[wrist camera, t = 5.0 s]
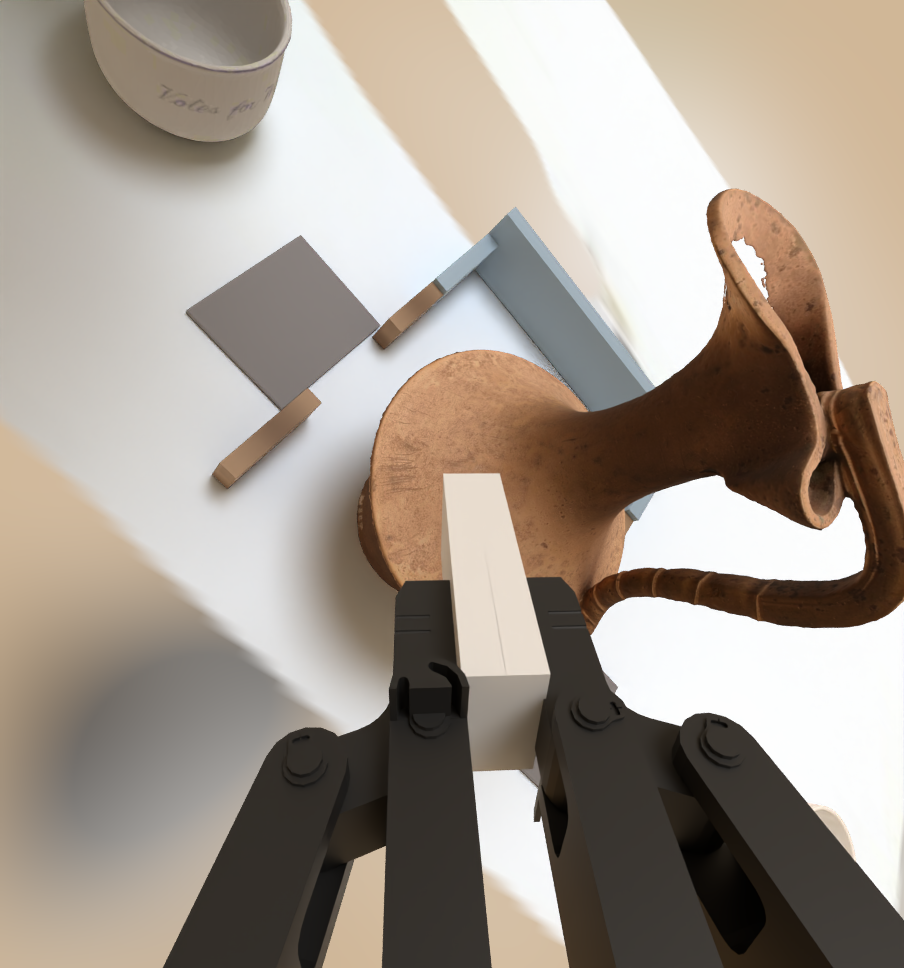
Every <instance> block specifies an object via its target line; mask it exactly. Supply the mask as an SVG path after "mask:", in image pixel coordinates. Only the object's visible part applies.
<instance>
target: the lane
mask: <svg viewBox="0 0 904 968" xmlns="http://www.w3.org/2000/svg"><path fill="white" fill-rule="evenodd" d="M442 296H443V294H442V293H441V292H440V290H439V289H438V288H437V287H436V286H435V284H434V283H433V282H431V283H430V284H429V285H428V286H427V287H425V288H424V289H423V290H422V291H421V292H420V293H418V294H417V295H416V296H415V297H414V298H412V299H411V300H410V301H409V302H408V303H407V304H405V305H404V306H403V307H402V308H401V309H400V310H398V311H397V312H396V313H395V314H394V315H393V316H391V317H390V318H389V319H388V320H387V321H386V322H385V324H384V325H383V326H382V327H381V328H380V329H379V330H378V331H377V332H376V333H375V335H374V336H373V338H374V339H375V340H376V341H377V343H378V344H379V345H380V346H381V347H382V348H383V349H385V348H386V347H387V346H389V345H390V344H391V343H392V342H393V341H394V340H395V339H396V338H398V337H399V336H400V335H401V334H402V333H403V332H404V331H405V330H407V329H408V328H409V327H410V326H411V325H412V324H413V323H414V322H416V321H417V320H418V319H419V318H420V317H421V316H422V315H423V314H425V313H426V312H427V311H428V310H429V309H430V308H431V307H432V306H433V305H434V304H435V303H436V302H437V301H438V300H439V299H440V298H441V297H442ZM320 404H321V402H320V400H319V399H318V398H317V397H316V396H315V395H314V394H313V393H312V392H311V391H310V390H309V389H308V388H307V389H306V390H305V391H303V392H302V393H301V394H300V395H299V396H298V397H296V398H295V399H294V400H293V401H292V402H291V403H289V404H288V405H287V406H286V407H285V408H284V409H282V410H281V411H280V412H279V413H278V414H277V415H275V416H274V417H273V418H272V419H271V420H269V421H268V422H267V423H266V424H265V425H264V426H262V427H261V428H260V429H259V430H258V431H257V432H255V433H254V434H253V435H252V436H251V437H250V438H248V439H247V440H246V441H245V442H244V443H243V444H241V445H240V446H239V447H238V448H237V449H236V450H234V451H233V452H232V453H231V454H230V455H228V456H227V457H226V458H225V459H224V460H223V461H221V462H220V463H219V465H218V466H217V468H216V469H215V471H214V472H213V474H212V475H213V476H214V477H215V478H216V479H217V480H218V481H219V482H220V483H222V484H223V485H224V486H225V487H226V488H227V489H228V488H229V487H230V486H231V485H232V484H233V483H235V482H236V481H237V480H238V479H239V478H240V477H241V476H242V475H244V474H245V473H246V472H247V471H248V470H249V469H250V468H251V467H253V466H254V465H255V464H256V463H257V462H258V461H259V460H260V459H262V458H263V457H264V456H265V455H266V454H267V453H268V452H269V451H271V450H272V449H273V448H274V447H275V446H276V445H277V444H278V443H280V442H281V441H282V440H283V439H284V438H285V437H286V436H287V435H289V434H290V433H291V432H292V431H293V430H294V429H295V428H296V427H298V426H299V425H300V424H301V423H302V422H303V421H304V420H305V419H307V418H308V417H309V416H310V415H311V413H312V412H313V411H314V410H315V409H316V408H317V407H318V406H319V405H320ZM632 523H633V520H632V519H631V518H630V516H629V515H628V514H627V513H626V512H625V535H626V533H627V531H628V530H629V528H630V526H631V524H632Z"/></svg>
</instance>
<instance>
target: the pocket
mask: <svg viewBox="0 0 904 968" xmlns="http://www.w3.org/2000/svg"><path fill="white" fill-rule="evenodd" d="M474 269H475V270H476V271H477V273H478V274H479V275H480V276H481V278H482V279H483V280H484V281H485V282H486V284H487V285H488V286H489V287H490V289H491V290H492V291H493V292H494V294H495V295H496V296H497V297H498V298H499V300H500V301H501V302H502V303H503V305H504V306H505V307H506V308H507V309H508V311H509V312H510V313H511V314H512V316H513V317H514V318H515V319H516V321H517V322H518V323H519V324H520V325H521V327H522V328H523V329H524V330H525V332H526V333H527V334H528V335H529V336H530V338H531V339H532V340H533V341H534V343H535V344H536V345H537V346H538V348H539V349H540V350H541V351H542V352H543V354H544V355H545V356H546V357H547V359H548V360H549V361H550V362H551V363H552V365H553V366H554V367H555V368H556V370H557V371H558V372H559V373H560V374H561V376H562V377H563V378H564V379H565V381H566V382H567V383H568V384H569V386H570V387H571V388H572V389H573V390H574V392H575V393H576V394H577V395H578V397H579V398H580V399H581V400H582V401H583V403H584V404H585V405H586V406H587V408H588V409H589V410H590V411H591V412H594V411H599V410H604V409H607V408H611V407H614V406H616V405H619V404H621V403H624V402H627V401H630V400H632V399H635V398H637V397H640V396H642V395H643V394H645V393H647V392H649V391H651V390H653V389H654V388H655V387H654V385H653V384H652V383H651V381H650V380H649V379H648V378H647V376H646V375H645V374H644V372H643V371H642V370H641V368H640V367H639V366H638V365H637V363H636V362H635V361H634V359H633V358H632V357H631V356H630V354H629V353H628V352H627V350H626V349H625V348H624V346H623V345H622V344H621V343H620V341H619V340H618V339H617V337H616V336H615V335H614V334H613V332H612V331H611V330H610V328H609V327H608V326H607V324H606V323H605V322H604V321H603V319H602V318H601V317H600V315H599V314H598V313H597V312H596V310H595V309H594V308H593V306H592V305H591V304H590V302H589V301H588V300H587V299H586V297H585V296H584V295H583V293H582V292H581V291H580V290H579V288H578V287H577V286H576V284H575V283H574V282H573V280H572V279H571V278H570V277H569V275H568V274H567V273H566V271H565V270H564V269H563V268H562V266H561V265H560V264H559V262H558V261H557V260H556V258H555V257H554V256H553V255H552V253H551V252H550V251H549V250H548V248H547V247H546V245H545V244H544V243H543V242H542V241H541V239H540V238H539V236H538V235H537V234H536V233H535V231H534V230H533V229H532V227H531V226H530V225H529V224H528V222H527V221H526V220H525V218H524V217H523V216H522V215H521V213H520V212H519V211H518V209H517V208H516V207H515V208H514V209H513V210H511V211H510V212H509V213H508V214H507V215H506V216H505V217H504V218H503V219H502V220H501V221H500V222H499V223H498V224H497V225H496V226H495V227H494V228H493V229H492V230H491V231H490V232H489V233H488V234H487V235H486V236H485V237H484V238H483V239H482V240H480V241H479V242H478V243H477V244H476V245H474V246H473V247H472V248H471V249H470V250H468V251H467V252H466V253H465V254H464V255H463V256H461V257H460V258H459V259H458V260H457V261H456V262H454V263H453V264H452V265H451V266H450V267H449V268H447V269H446V270H445V271H444V272H443V273H442V274H440V275H439V276H438V277H437V278H436V279H435V280H434V281H433V283H434V284H435V286H436V287H437V288H438V289H439V290H440V292H441V293H442V294H443V296H442V297H441V298H440V299H439V300H438V301H437V302H439V301H440V300H441V299H442V298H443V297H444V296H445V295H446V294H447V293H449V292H450V291H451V290H452V289H453V288H454V287H455V286H456V285H458V284H459V283H460V282H461V281H462V280H463V279H464V278H465V277H467V276H468V275H469V274H470V273H471V272H472V271H473V270H474ZM437 302H436V303H437ZM436 303H435V304H436ZM435 304H434V305H435ZM434 305H433V306H434ZM433 306H432V307H433ZM432 307H431V308H432ZM431 308H430V309H431ZM430 309H429V310H430ZM654 493H655V492H654ZM654 493H652V494H650V495H647V496H645V497H643V498H641V499H639V500H637V501H635V502H633V503H631V504H630V505H628V506H627V507H626V508H624V509H625V512H626V513H627V514H628V515H629V516H630V518H631V519H632V520H633V521H637V520H639V519H640V517H641V515H642V513H643V512H644V510H645V508H646V507H647V505H648V503H649V501H650V500H651V498H652V496H653V494H654Z"/></svg>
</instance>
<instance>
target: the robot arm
mask: <svg viewBox="0 0 904 968" xmlns="http://www.w3.org/2000/svg"><path fill="white" fill-rule="evenodd" d="M441 563H442V577H443V580H419V581H405V583H404V584H403V586H402V587H401V589H400V591H399V592H398V594H397V596H396V604H395V635H394V664H393V676H392V680H391V683H390V687H389V704H388V706H387V709H386V710H385V711H384V712H383V713H382V715H381V716H380V717H379V718H378V719H376V720H375V721H374V722H372V723H371V724H369V725H367V726H365V727H363V728H361V729H359V730H356V731H353V732H350V733H347V734H344V735H341V736H339V737H338V736H337V735H336V734H335V733H333V732H331V731H328V730H326V729H323V728H303V729H300V730H297V731H294V732H291V733H289V734H288V735H287V736H285V737H284V738H282V739H281V740H279V741H278V742H277V743H276V744H275V745H274V747H273V748H272V749H271V751H270V752H269V753H268V755H267V756H266V758H265V760H264V762H263V764H262V766H261V768H260V771H259V773H258V775H257V777H256V779H255V781H254V783H253V785H252V787H251V789H250V791H249V793H248V795H247V797H246V799H245V801H244V803H243V805H242V807H241V809H240V811H239V813H238V815H237V818H236V820H235V822H234V824H233V826H232V828H231V830H230V832H229V834H228V836H227V838H226V840H225V842H224V844H223V846H222V848H221V850H220V852H219V854H218V856H217V858H216V860H215V863H214V864H213V866H212V869H211V871H210V873H209V875H208V877H207V879H206V881H205V883H204V885H203V887H202V889H201V891H200V893H199V895H198V897H197V899H196V901H195V903H194V905H193V907H192V909H191V911H190V914H189V916H188V918H187V920H186V922H185V924H184V926H183V928H182V930H181V932H180V934H179V936H178V938H177V940H176V942H175V944H174V946H173V948H172V950H171V952H170V954H169V956H168V959H167V960H166V963H165V965H164V967H163V968H322V966H323V962H324V959H325V956H326V952H327V949H328V945H329V942H330V939H331V936H332V932H333V929H334V926H335V922H336V919H337V915H338V912H339V909H340V905H341V902H342V899H343V896H344V892H345V889H346V885H347V882H348V879H349V876H350V872H351V869H352V866H353V862H354V859H356V858H358V857H361V856H363V855H365V854H368V853H370V852H372V851H375V850H377V849H379V848H382V847H384V846H386V863H385V864H386V865H385V893H384V925H383V954H382V968H492V967H491V956H490V946H489V937H488V926H487V915H486V906H485V895H484V884H483V874H482V864H481V854H480V843H479V833H478V823H477V813H476V802H475V792H474V782H473V772H472V771H495V770H521V769H533V767H534V761H535V756H536V757H537V762H538V767H539V772H540V782H539V787H538V792H537V797H536V802H535V807H534V822H540V818H541V817H542V822H543V827H544V833H545V838H546V844H547V849H548V854H549V860H550V865H551V870H552V876H553V881H554V887H555V892H556V897H557V903H558V908H559V914H560V919H561V924H562V930H563V935H564V941H565V946H566V951H567V957H568V962H569V968H904V920H903V919H902V917H901V916H900V915H899V914H898V912H897V911H896V910H895V909H894V908H893V906H892V905H891V904H890V903H889V902H888V900H887V899H886V898H885V897H884V895H883V894H882V893H881V892H880V891H879V889H878V888H877V887H876V886H875V885H874V883H873V882H872V881H871V880H870V878H869V877H868V876H867V875H866V874H865V872H864V871H863V870H862V869H861V868H860V866H859V865H858V864H857V863H856V861H855V860H854V859H853V858H852V857H851V855H850V854H849V853H848V852H847V851H846V849H845V848H844V847H843V846H842V844H841V843H840V842H839V841H838V840H837V838H836V837H835V836H834V835H833V834H832V832H831V831H830V830H829V829H828V827H827V826H826V825H825V824H824V823H823V821H822V820H821V819H820V818H819V817H818V815H817V814H816V813H815V812H814V810H813V809H812V808H811V807H810V806H809V804H808V803H807V802H806V801H805V800H804V798H803V797H802V796H801V795H800V793H799V792H798V791H797V790H796V789H795V787H794V786H793V785H792V784H791V783H790V781H789V780H788V779H787V778H786V776H785V775H784V774H783V773H782V772H781V770H780V769H779V768H778V767H777V766H776V764H775V763H774V762H773V761H772V759H771V758H770V757H769V756H768V755H767V753H766V752H765V751H764V750H763V749H762V747H761V746H760V745H759V744H758V742H757V741H756V740H755V739H754V738H753V737H752V736H751V735H750V734H749V733H748V732H747V731H746V730H745V729H744V728H743V727H742V726H741V725H739V724H737V723H735V722H734V721H732V720H730V719H728V718H726V717H724V716H720V715H716V714H712V713H701V714H694V715H693V716H691V717H689V718H687V719H686V720H685V721H684V723H683V725H682V727H681V726H678V725H674V724H670V723H666V722H662V721H658V720H655V719H651V718H648V717H645V716H642V715H640V714H637V713H636V712H634V711H632V710H630V709H629V708H627V707H626V706H625V704H624V702H623V701H622V700H621V699H620V698H619V697H618V696H616V695H615V694H614V693H613V692H612V691H611V690H610V688H609V686H608V684H607V682H606V679H605V676H604V673H603V671H602V668H601V665H600V662H599V659H598V656H597V653H596V651H595V648H594V645H593V642H592V639H591V636H590V633H589V631H588V629H587V627H586V626H587V625H586V622H585V619H584V616H583V614H582V613H581V608H580V605H579V602H578V599H577V596H576V594H575V592H574V591H573V590H572V589H571V587H570V586H569V585H568V584H567V583H566V582H565V581H564V580H563V579H562V578H561V577H526V575H525V572H524V568H523V564H522V560H521V556H520V552H519V548H518V544H517V540H516V536H515V532H514V528H513V524H512V520H511V516H510V512H509V508H508V504H507V500H506V497H505V493H504V489H503V485H502V481H501V477H500V473H472V474H443V500H442V535H441Z"/></svg>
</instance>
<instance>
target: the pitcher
mask: <svg viewBox="0 0 904 968" xmlns="http://www.w3.org/2000/svg"><path fill="white" fill-rule="evenodd" d="M706 215H707V225H708V230H709V233H710V237H711V242H712V244H713V247H714V250H715V252H716V255H717V257H718V259H719V262H720V264H721V266H722V268H723V272H724V275H725V285H724V294H725V289H726V286H727V289H726V297H723V308H722V311H721V315H720V318H719V321H718V325H717V328H716V330H715V331H714V334H713V336H712V338H711V339H710V340H709V342H708V343H707V345H706V346H705V347H704V348H703V349H702V351H701V352H700V353H699V354H698V355H697V356H696V357H695V358H694V359H693V360H692V361H691V362H690V363H689V364H687V365H686V366H685V367H684V368H683V369H682V370H680V371H679V372H677V373H675V374H674V375H673V376H671V378H669V379H668V380H666V381H664V382H663V383H662V384H661V385H659V386H657V387H656V388H654V389H653V390H651V391H649V392H647V393H645V394H643V395H642V396H640V397H637V398H635V399H632V400H630V401H627V402H624V403H621V404H619V405H616V406H614V407H611V408H607V409H604V410H599V411H594V412H588V411H587V409H586V408H585V406H584V405H583V404H582V403H581V402H580V400H579V399H578V398H577V397H576V396H575V395H574V394H573V393H572V392H571V391H570V390H569V389H568V388H567V387H566V386H565V385H564V384H563V383H562V382H560V381H559V380H558V379H557V378H555V377H554V376H553V375H551V374H550V373H548V372H547V371H545V370H544V369H542V368H540V367H539V366H537V365H535V364H533V363H531V362H529V361H527V360H525V359H523V358H520V357H517V356H515V355H512V354H508V353H504V352H499V351H492V350H471V351H465V352H456V353H454V354H451V355H447V356H445V357H443V358H439V359H437V360H435V361H433V362H432V363H430V364H428V365H426V366H425V367H423V368H422V369H420V370H419V371H417V372H416V373H415V374H414V375H412V377H410V378H409V379H408V380H407V382H406V383H405V384H404V385H403V386H402V387H401V388H400V389H399V390H398V391H397V393H396V394H395V396H394V397H393V398H392V401H391V402H390V404H389V405H388V406H387V408H386V410H385V412H384V413H383V415H382V416H383V417H382V418H381V420H380V425H379V428H378V430H377V432H376V437H375V441H374V445H373V450H372V456H371V458H370V459H371V460H370V462H371V463H370V465H371V467H370V476H369V477H368V479H367V481H366V482H365V485H364V487H363V489H362V493H361V496H360V498H359V505H358V514H357V523H358V534H359V538H360V542H361V546H362V549H363V552H364V554H365V556H366V558H367V560H368V561H369V563H370V564H371V566H372V567H373V569H374V570H375V571H376V572H377V573H378V575H379V576H380V577H381V578H382V579H383V580H384V581H385V582H386V583H387V584H389V585H390V586H391V587H393V588H395V589H396V590H398V591H400V589H401V587H402V586H403V584H404V583H405V581H419V580H443V577H442V563H441V535H442V500H443V474H472V473H500V477H501V481H502V485H503V489H504V493H505V497H506V500H507V504H508V508H509V512H510V516H511V520H512V524H513V528H514V532H515V536H516V540H517V544H518V548H519V552H520V556H521V560H522V564H523V568H524V572H525V575H526V577H561V578H562V579H563V580H564V581H565V582H566V583H567V584H568V585H569V586H570V587H571V589H572V590H573V591H574V592H575V594H576V596H577V599H578V602H579V605H580V608H581V613H582V614H583V616H584V619H585V622H586V625H587V626H586V627H587V629H588V631H589V633H590V635H591V634H592V633H593V632H594V629H595V628H596V626H597V625H598V623H599V621H600V620H601V618H602V616H603V615H604V614H605V612H606V611H607V610H608V609H609V608H610V607H611V606H613V605H614V604H615V603H617V602H620V601H623V600H625V599H627V598H630V597H654V598H655V597H662V598H666V599H671V600H675V601H682V602H688V603H690V604H692V605H703V606H706V607H709V608H711V609H715V610H719V611H725V612H727V613H730V614H736V615H742V616H748V617H750V618H752V619H755V620H757V621H766V622H770V623H773V624H777V625H782V626H798V627H803V628H844V627H853V626H860V625H863V624H866V623H869V622H872V621H877V620H879V619H880V618H883V617H885V616H886V615H888V614H890V613H891V612H892V611H893V610H895V609H896V608H897V607H898V606H899V605H900V604H901V603H902V602H903V601H904V461H903V457H902V454H901V451H900V449H899V444H898V441H897V437H896V434H895V429H894V425H893V421H892V416H891V411H890V408H889V404H888V396H887V392H886V391H885V389H884V388H883V387H882V386H881V385H880V384H879V383H877V382H875V381H871V382H868V383H865V384H859V385H855V386H852V387H849V388H846V389H843V387H842V383H841V375H840V367H839V360H838V353H837V345H836V339H835V332H834V325H833V319H832V314H831V311H830V306H829V302H828V298H827V294H826V290H825V287H824V283H823V279H822V275H821V272H820V270H819V268H818V266H817V264H816V261H815V259H814V257H813V255H812V253H811V251H810V250H809V249H808V247H807V245H806V243H805V241H804V240H803V239H802V237H801V236H800V234H799V233H798V231H797V230H796V228H795V227H794V226H793V225H792V224H791V223H790V222H789V221H788V220H786V219H785V218H784V217H783V216H782V214H781V213H779V212H778V211H777V210H776V209H774V208H773V207H772V206H771V205H770V204H768V203H767V202H765V201H763V200H762V199H760V198H759V197H756V196H755V195H753V194H751V193H749V192H747V191H743V190H739V189H728V190H725V191H722V192H720V193H718V194H717V195H716V196H715V197H714V198H713V199H712V200H711V201H710V203H709V205H708V207H707V214H706ZM743 237H744V239H745V240H744V242H745V244H746V245H750V246H752V247H754V249H755V251H756V256H757V257H759V258H762V259H763V261H764V265H765V267H764V271H765V272H766V274H767V275H766V277H765V279H766V284H764V283H763V282H764V278H762V279H761V281H762V285H763V287H764V288H765V286H766V290H767V291H768V296H769V297H768V298H767V300H766V299H765V297H764V296H763V294H762V293H761V291H760V290H759V288H758V287H757V285H756V283H755V282H754V280H753V279H752V277H751V276H750V274H749V273H748V271H747V269H746V267H745V265H744V264H743V263H742V261H741V259H740V258H739V256H738V255H737V253H736V251H735V249H734V247H733V246H732V241H733V240H734V241H739V240H740V239H743ZM761 265H763V263H761ZM767 301H768V302H767ZM724 302H725V303H724ZM772 307H773V309H772ZM715 475H718V476H721V477H723V478H724V480H725V484H726V486H727V487H728V488H729V489H730V490H731V491H733V492H736V493H738V494H740V495H743V496H745V497H746V498H748V499H749V500H752V501H756V502H757V503H759V504H761V505H763V506H766V507H768V508H769V509H771V510H774V511H776V512H778V513H779V514H781V515H783V516H785V517H787V518H789V519H790V520H792V521H794V522H797V523H799V524H801V525H804V526H806V527H809V528H812V529H817V530H822V529H824V528H826V527H828V526H829V525H830V524H831V523H832V522H833V521H834V519H835V518H836V517H837V515H838V513H839V512H840V509H841V506H842V502H843V500H844V498H845V497H848V498H851V499H852V501H853V502H854V507H855V509H856V510H857V512H858V513H859V518H860V520H861V522H862V526H863V532H864V534H865V544H866V553H865V563H864V568H863V570H862V571H860V572H858V573H856V574H854V575H851V576H849V577H846V578H842V579H839V580H831V581H793V580H777V579H771V580H765V579H758V578H753V577H749V576H741V575H734V574H719V573H716V572H710V571H708V572H704V571H700V570H696V569H685V568H680V569H669V570H666V569H664V568H658V569H655V568H641V569H634V570H630V571H622V572H620V573H618V569H619V566H620V562H621V558H622V553H623V548H624V539H625V509H624V508H626V507H627V506H628V505H630V504H631V503H633V502H635V501H637V500H639V499H641V498H643V497H645V496H647V495H650V494H652V493H654V492H657V491H660V490H663V489H666V488H669V487H672V486H676V485H679V484H682V483H686V482H688V481H692V480H696V479H700V478H705V477H710V476H715Z"/></svg>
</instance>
